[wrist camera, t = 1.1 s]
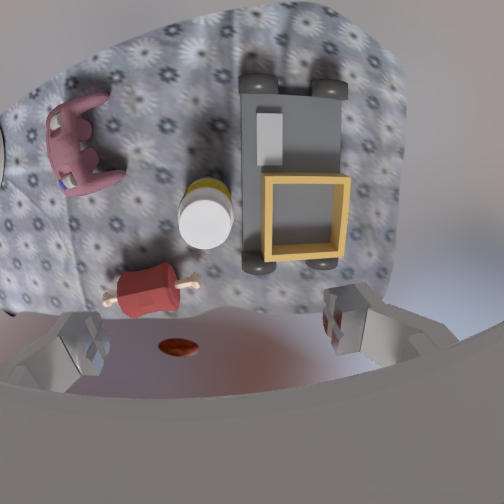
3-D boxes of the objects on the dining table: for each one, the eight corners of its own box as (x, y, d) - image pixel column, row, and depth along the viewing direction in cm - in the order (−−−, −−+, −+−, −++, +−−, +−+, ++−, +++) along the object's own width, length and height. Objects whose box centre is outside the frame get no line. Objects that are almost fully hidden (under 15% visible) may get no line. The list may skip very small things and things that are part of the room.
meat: (194, 247, 30) (195, 280, 26) (206, 278, 33) (208, 311, 30) (97, 270, 30) (88, 303, 26) (115, 298, 33) (110, 329, 29)
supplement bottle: (182, 178, 28) (169, 196, 20) (229, 174, 28) (234, 190, 21) (187, 223, 30) (178, 256, 22) (232, 219, 30) (238, 251, 22)
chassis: (240, 260, 32) (243, 276, 29) (237, 80, 24) (240, 73, 21) (330, 255, 33) (342, 268, 30) (339, 87, 26) (354, 82, 22)
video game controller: (85, 103, 24) (33, 113, 18) (111, 88, 22) (55, 94, 17) (104, 185, 28) (56, 208, 22) (131, 178, 27) (80, 202, 21)
